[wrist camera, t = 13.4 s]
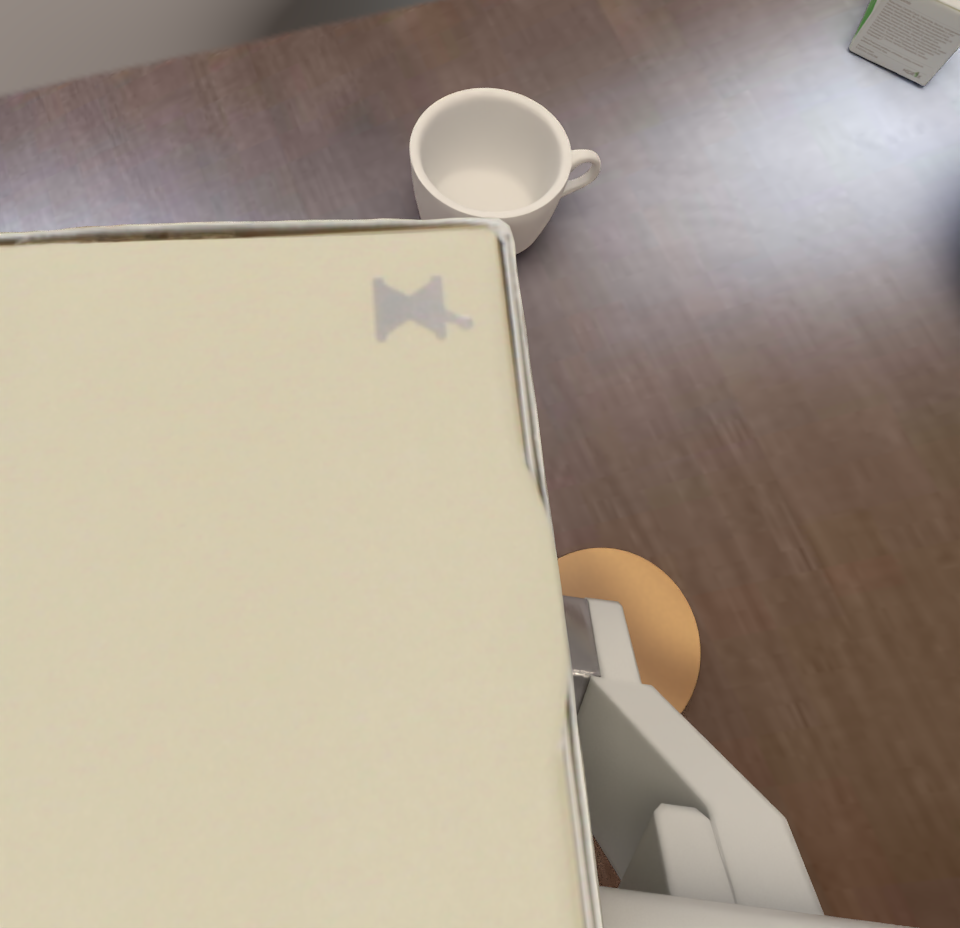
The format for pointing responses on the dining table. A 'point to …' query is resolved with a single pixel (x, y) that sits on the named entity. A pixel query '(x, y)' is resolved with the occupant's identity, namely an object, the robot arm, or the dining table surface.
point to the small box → (909, 36)
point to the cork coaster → (642, 615)
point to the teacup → (494, 161)
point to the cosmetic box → (280, 585)
